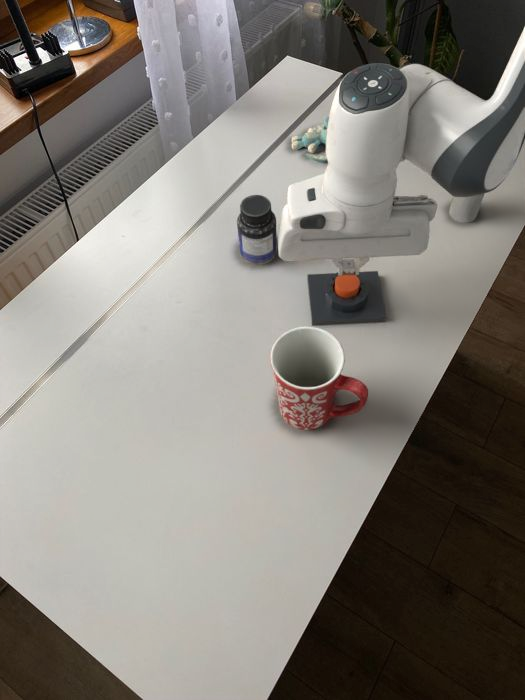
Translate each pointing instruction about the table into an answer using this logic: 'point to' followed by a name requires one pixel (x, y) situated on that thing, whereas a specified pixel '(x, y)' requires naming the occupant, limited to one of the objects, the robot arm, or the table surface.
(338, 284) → the button
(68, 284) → the table surface
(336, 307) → the button box
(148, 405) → the table surface
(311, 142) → the stuffed animal
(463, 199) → the white cylindrical tube
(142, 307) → the table surface
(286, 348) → the mug
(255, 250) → the pill bottle
